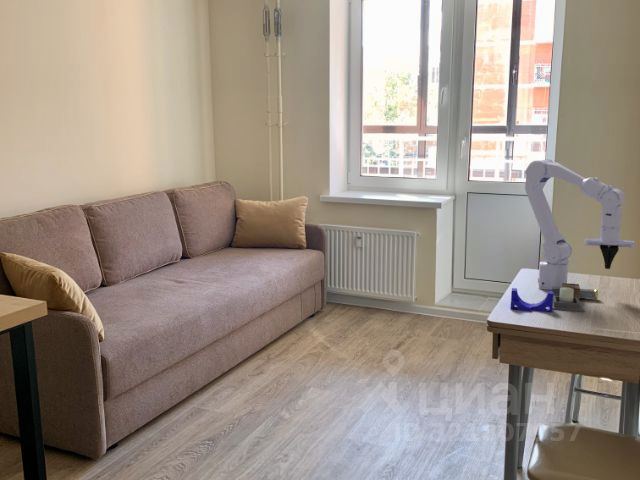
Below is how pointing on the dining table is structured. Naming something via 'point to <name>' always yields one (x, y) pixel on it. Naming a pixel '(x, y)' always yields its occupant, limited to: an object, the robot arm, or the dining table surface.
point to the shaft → (583, 293)
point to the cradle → (567, 305)
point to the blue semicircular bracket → (528, 307)
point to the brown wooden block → (576, 289)
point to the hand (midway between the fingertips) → (607, 268)
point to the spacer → (566, 295)
